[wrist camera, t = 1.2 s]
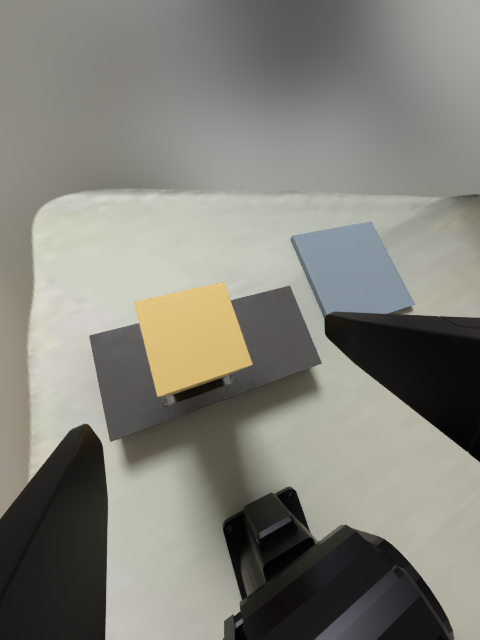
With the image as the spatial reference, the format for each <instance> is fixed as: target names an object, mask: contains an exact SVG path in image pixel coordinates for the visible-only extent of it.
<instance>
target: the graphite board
mask: <svg viewBox="0 0 480 640" xmlns="http://www.w3.org/2000/svg"><path fill="white" fill-rule="evenodd" d="M231 303H232V306H233V309H234V312H235V315H236V318H237V321H238V324H239V326H240V329H241V332H242V335H243V338H244V341H245V344H246V347H247V350H248V353H249V355H250V358H251V361H252V364H253V365H251V366H248V367H246V368H244V369H242V370H239V371H237V372H235V373H232V374H230V377H231V380H232V383H230V384H227V385H224V386H221V387H218V388H216V389H213V390H210V391H207V392H204V393H201V394H199V395H196V396H193V397H190V398H187V399H184V400H182V401H179V402H176V403H173V404H170V405H167V403H166V400H165V396H161V397H157V393H156V389H155V385H154V381H153V377H152V373H151V369H150V365H149V361H148V357H147V352H146V348H145V344H144V340H143V336H142V332H141V328H140V324H139V323H138V324H134V325H130V326H126V327H122V328H118V329H114V330H110V331H106V332H102V333H98V334H94V335H90V342H91V347H92V352H93V357H94V362H95V367H96V372H97V377H98V382H99V387H100V393H101V398H102V403H103V408H104V413H105V418H106V423H107V428H108V433H109V439H110V442H112V441H114V440H117V439H120V438H122V437H125V436H128V435H130V434H133V433H136V432H138V431H141V430H144V429H147V428H149V427H152V426H155V425H157V424H160V423H163V422H165V421H168V420H171V419H173V418H176V417H179V416H182V415H184V414H187V413H190V412H192V411H195V410H198V409H200V408H203V407H206V406H208V405H211V404H214V403H216V402H219V401H222V400H225V399H227V398H230V397H233V396H235V395H238V394H241V393H243V392H246V391H249V390H251V389H254V388H257V387H260V386H262V385H265V384H268V383H270V382H273V381H276V380H278V379H281V378H284V377H286V376H289V375H292V374H295V373H297V372H300V371H303V370H305V369H308V368H311V367H313V366H316V365H319V364H321V360H320V358H319V356H318V353H317V351H316V348H315V346H314V343H313V341H312V338H311V336H310V334H309V331H308V329H307V326H306V324H305V321H304V319H303V317H302V314H301V312H300V309H299V307H298V304H297V302H296V299H295V297H294V295H293V292H292V290H291V287H290V286H287V287H283V288H279V289H275V290H271V291H267V292H263V293H259V294H255V295H251V296H247V297H243V298H239V299H235V300H231Z"/></svg>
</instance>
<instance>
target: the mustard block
mask: <svg viewBox="0 0 480 640" xmlns="http://www.w3.org/2000/svg"><path fill="white" fill-rule="evenodd" d="M134 304H135V308H136V312H137V316H138V320H139V324H140V328H141V332H142V336H143V340H144V344H145V348H146V352H147V357H148V361H149V365H150V369H151V373H152V377H153V381H154V385H155V389H156V393H157V397H161V396H168V395H174V394H177V393H180V392H183V391H186V390H188V389H191V388H194V387H197V386H200V385H203V384H206V383H209V382H212V381H215V380H218V379H221V378H223V377H226V376H228V375H230V374H232V373H235V372H237V371H239V370H242V369H244V368H246V367H248V366H251V365H253V364H252V361H251V358H250V355H249V353H248V350H247V347H246V344H245V341H244V338H243V335H242V332H241V329H240V326H239V324H238V321H237V318H236V315H235V312H234V309H233V306H232V303H231V300H230V297H229V294H228V292H227V289H226V286H225V283H224V282H222V283H217V284H213V285H209V286H204V287H200V288H195V289H191V290H186V291H182V292H177V293H173V294H168V295H164V296H159V297H155V298H150V299H146V300H142V301H137V302H134Z"/></svg>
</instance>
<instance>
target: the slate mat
mask: <svg viewBox="0 0 480 640" xmlns="http://www.w3.org/2000/svg"><path fill="white" fill-rule="evenodd" d="M291 241H292V243H293V246H294V248H295V250H296V253H297V255H298V257H299V260H300V262H301V264H302V267H303V269H304V271H305V274H306V276H307V278H308V280H309V283H310V285H311V287H312V290H313V292H314V294H315V297H316V299H317V301H318V304H319V306H320V308H321V311H322V313H323V315H324V318H325V316H326V315H327V314H329V313H331V312H334V311H337V312H358V313H379V314H389V313H392V312H395V311H398V310H401V309H404V308H407V307H410V306H412V305H415V303H414V301H413V300H412V298H411V296H410V294H409V292H408V290H407V288H406V286H405V284H404V283H403V281H402V279H401V277H400V275H399V273H398V271H397V269H396V267H395V265H394V264H393V262H392V260H391V258H390V256H389V254H388V252H387V250H386V248H385V246H384V245H383V243H382V241H381V239H380V237H379V235H378V233H377V231H376V229H375V228H374V226H373V224H372V222H366V223H361V224H355V225H350V226H344V227H339V228H333V229H328V230H322V231H316V232H311V233H305V234H300V235H294V236H292V238H291Z"/></svg>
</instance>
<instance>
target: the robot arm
mask: <svg viewBox="0 0 480 640" xmlns="http://www.w3.org/2000/svg"><path fill="white" fill-rule="evenodd" d="M324 320H325V334H326V336H327V338H328V339H329V340H330V341H331V342H332V343H333V344H335V345H336V346H337V347H338V348H339V349H340V350H341V351H342V352H343V353H344V354H345V355H346V356H347V357H348V358H349V359H350V360H351V361H353V362H354V363H355V364H356V365H357V366H359V367H360V368H361V369H362V370H364V371H365V372H366V373H367V374H369V375H370V376H371V377H372V378H374V379H375V380H376V381H378V382H379V383H380V384H381V385H383V386H384V387H385V388H386V389H388V390H389V391H390V392H392V393H393V394H394V395H395V396H397V397H398V398H399V399H400V400H402V401H403V402H404V403H406V404H407V405H408V406H409V407H411V408H412V409H413V410H414V411H416V412H417V413H418V414H420V415H421V416H422V417H423V418H425V419H426V420H427V421H428V422H430V423H431V424H432V425H434V426H435V427H436V428H437V429H439V430H440V431H441V432H442V433H444V434H445V435H446V436H448V437H449V438H450V439H451V440H453V441H454V442H455V443H456V444H458V445H459V446H460V447H462V448H463V449H464V450H465V451H467V452H468V453H469V454H470V455H471V456H473V457H474V458H475V459H476V460H478V461H479V462H480V318H468V317H444V316H440V317H438V316H421V315H400V314H379V313H358V312H337V311H334V312H331V313H329V314H327V315H326V316H325V319H324ZM290 492H292V496H291V497H289V493H290ZM107 524H108V495H107V484H106V474H105V464H104V454H103V446H102V443H101V441H100V439H99V438H98V437H97V435H96V434H95V432H94V431H93V430H92V428H91V427H90V426H89V425H88V424H83V425H80V426H78V427H76V428H74V429H72V430H70V431H69V432H68V434H67V435H66V436H65V438H64V439H63V440H62V441H61V443H60V444H59V445H58V446H57V448H56V449H55V450H54V452H53V453H52V454H51V455H50V457H49V458H48V459H47V460H46V462H45V463H44V464H43V465H42V467H41V468H40V469H39V471H38V472H37V473H36V474H35V476H34V477H33V478H32V479H31V481H30V482H29V483H28V484H27V486H26V487H25V488H24V490H23V491H22V492H21V493H20V495H19V496H18V497H17V498H16V500H15V501H14V502H13V503H12V505H11V506H10V507H9V509H8V510H7V511H6V513H5V514H4V515H3V516H2V517H1V519H0V640H105V624H106V574H107ZM228 525H232V528H231V529H230V530H227V529H226V528H227V526H228ZM223 532H224V535H225V539H226V543H227V546H228V550H229V554H230V557H231V561H232V564H233V568H234V572H235V575H236V579H237V583H238V586H239V590H240V594H241V597H242V601H241V602H240V610H241V611H240V612H239V613H238V614H237V615H235V616H234V615H232V616H230V617H229V618H228V619H226V620H225V621H224V638H223V640H454V635H453V630H452V627H451V625H450V622H449V620H448V618H447V616H446V614H445V612H444V611H443V609H442V607H441V605H440V603H439V602H438V600H437V599H436V597H435V596H434V594H433V593H432V591H431V590H430V588H429V587H428V585H427V584H426V583H425V581H424V580H423V579H422V577H421V576H420V575H419V573H418V572H417V571H416V570H415V569H414V567H413V566H412V565H411V564H410V563H409V562H408V560H407V559H406V558H405V557H404V556H403V555H402V554H401V553H400V552H399V551H398V550H397V549H396V548H395V547H394V546H393V545H392V544H390V543H389V542H388V541H386V540H385V539H383V538H381V537H379V536H375V535H372V534H369V533H366V532H362V531H359V530H356V529H353V528H351V527H349V526H347V525H340V526H339V527H338V528H336V529H335V530H334V531H332V532H331V533H330V534H328V535H327V536H326V537H325V538H323V539H322V540H321V541H319V542H318V541H317V540H316V539H315V538H314V537H313V535H312V534H311V533H310V530H309V527H308V525H307V522H306V519H305V516H304V513H303V510H302V507H301V504H300V501H299V498H298V496H297V493H296V491H295V490H294V489H293V488H292V487H287V488H285V489H283V490H281V491H279V492H277V493H276V494H273V493H270V494H268V495H266V496H264V497H262V498H260V499H258V500H256V501H254V502H252V503H250V504H249V505H247V506H245V508H244V510H243V511H241V512H239V513H237V514H235V515H234V516H232V517H230V518H228V519H226V520H225V521H224V523H223Z"/></svg>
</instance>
